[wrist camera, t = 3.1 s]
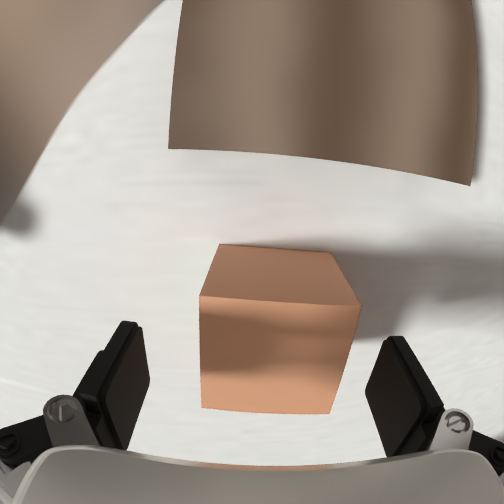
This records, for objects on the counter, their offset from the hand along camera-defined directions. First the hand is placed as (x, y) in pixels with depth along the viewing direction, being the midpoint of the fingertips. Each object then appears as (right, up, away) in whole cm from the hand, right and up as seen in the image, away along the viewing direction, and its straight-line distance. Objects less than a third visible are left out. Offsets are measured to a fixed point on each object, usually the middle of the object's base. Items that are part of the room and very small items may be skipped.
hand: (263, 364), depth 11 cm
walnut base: (+4, +15, +1) cm, 16 cm away
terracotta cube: (+1, +2, +7) cm, 7 cm away
